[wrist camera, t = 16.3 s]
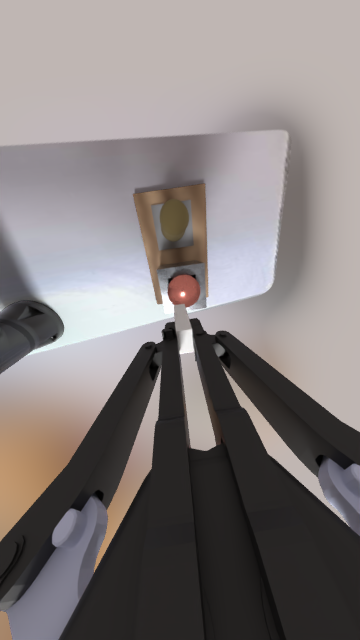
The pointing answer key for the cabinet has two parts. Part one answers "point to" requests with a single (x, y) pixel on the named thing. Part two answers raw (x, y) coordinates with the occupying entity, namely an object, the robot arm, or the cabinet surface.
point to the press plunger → (184, 290)
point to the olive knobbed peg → (174, 219)
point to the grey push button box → (174, 269)
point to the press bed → (158, 245)
